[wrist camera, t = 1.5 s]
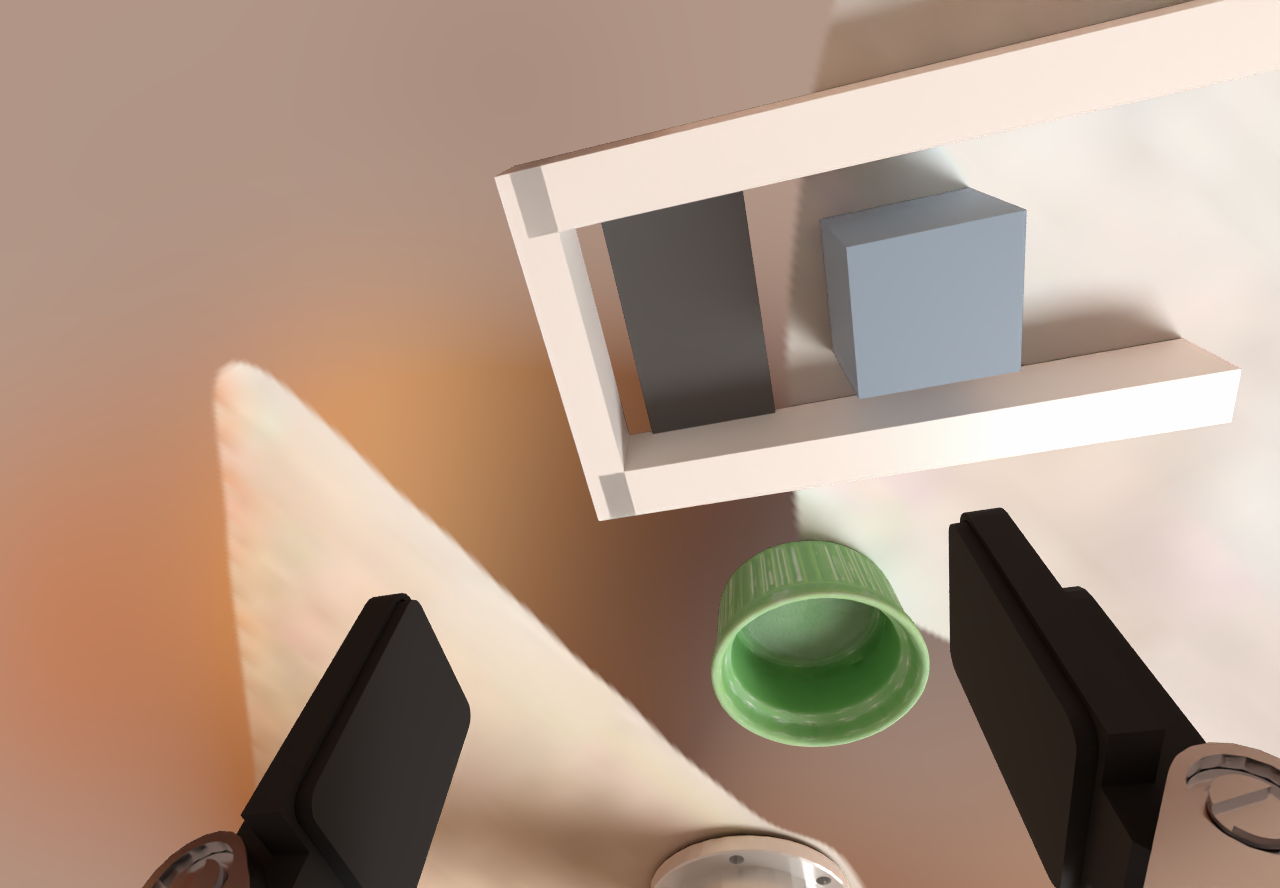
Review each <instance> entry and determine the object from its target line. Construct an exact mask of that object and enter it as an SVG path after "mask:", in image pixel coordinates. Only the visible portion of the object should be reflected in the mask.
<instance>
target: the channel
mask: <svg viewBox="0 0 1280 888" xmlns="http://www.w3.org/2000/svg"><path fill="white" fill-rule="evenodd" d="M1279 69H1280V0H1194V1H1190V2H1185V3H1181V4H1177V5H1173V6H1169V7H1165V8H1161V9H1157V10H1153V11H1148V12H1144V13H1140V14H1136V15H1132V16H1128V17H1124V18H1120V19H1116V20H1112V21H1107V22H1103V23H1099V24H1095V25H1091V26H1087V27H1083V28H1079V29H1075V30H1070V31H1066V32H1062V33H1058V34H1054V35H1050V36H1046V37H1042V38H1038V39H1034V40H1029V41H1025V42H1021V43H1017V44H1013V45H1009V46H1005V47H1001V48H997V49H992V50H988V51H984V52H980V53H976V54H972V55H968V56H964V57H960V58H956V59H951V60H947V61H943V62H939V63H935V64H931V65H927V66H923V67H919V68H914V69H910V70H906V71H902V72H898V73H894V74H890V75H886V76H882V77H877V78H873V79H869V80H865V81H861V82H857V83H853V84H849V85H845V86H841V87H836V88H832V89H828V90H824V91H820V92H816V93H812V94H808V95H804V96H799V97H795V98H791V99H787V100H783V101H779V102H775V103H771V104H767V105H763V106H758V107H754V108H750V109H746V110H742V111H738V112H734V113H730V114H726V115H722V116H717V117H713V118H710V119H705V120H701V121H697V122H693V123H689V124H685V125H680V126H676V127H672V128H668V129H664V130H660V131H656V132H652V133H648V134H643V135H640V136H635V137H631V138H627V139H623V140H619V141H615V142H611V143H606V144H602V145H598V146H594V147H590V148H586V149H582V150H578V151H574V152H570V153H566V154H561V155H558V156H553V157H549V158H546V159H541V160H537V161H533V162H529V163H525V164H521V165H516V166H514V167H512V168H510V169H508V170H506V171H505V172H503V173H501V174H499V175H497V176H495V177H494V179H495V182H496V185H497V189H498V192H499V195H500V198H501V201H502V205H503V208H504V212H505V215H506V218H507V221H508V224H509V228H510V231H511V234H512V238H513V241H514V244H515V248H516V251H517V254H518V257H519V261H520V264H521V267H522V270H523V274H524V277H525V280H526V284H527V287H528V290H529V294H530V297H531V300H532V303H533V307H534V310H535V313H536V317H537V320H538V323H539V326H540V329H541V333H542V336H543V340H544V343H545V346H546V349H547V352H548V356H549V359H550V362H551V366H552V369H553V372H554V376H555V379H556V382H557V385H558V389H559V392H560V395H561V398H562V402H563V405H564V408H565V412H566V415H567V418H568V422H569V425H570V428H571V431H572V435H573V438H574V441H575V444H576V448H577V451H578V454H579V457H580V461H581V464H582V468H583V471H584V474H585V477H586V481H587V484H588V487H589V490H590V494H591V497H592V500H593V504H594V507H595V510H596V513H597V517H598V520H599V521H602V520H608V519H615V518H621V517H627V516H634V515H640V514H647V513H653V512H660V511H666V510H672V509H679V508H684V507H691V506H698V505H704V504H711V503H716V502H724V501H730V500H736V499H743V498H749V497H755V496H762V495H768V494H774V493H780V492H787V491H794V490H800V489H807V488H813V487H819V486H826V485H832V484H839V483H845V482H851V481H858V480H864V479H871V478H877V477H883V476H890V475H896V474H903V473H909V472H915V471H922V470H928V469H935V468H941V467H947V466H954V465H960V464H966V463H973V462H979V461H986V460H992V459H998V458H1005V457H1011V456H1018V455H1024V454H1030V453H1037V452H1043V451H1050V450H1056V449H1062V448H1069V447H1075V446H1082V445H1088V444H1094V443H1101V442H1107V441H1113V440H1120V439H1126V438H1133V437H1139V436H1145V435H1152V434H1158V433H1165V432H1171V431H1177V430H1184V429H1190V428H1197V427H1203V426H1209V425H1216V424H1222V423H1229V422H1231V420H1232V415H1233V410H1234V405H1235V400H1236V394H1237V389H1238V384H1239V379H1240V374H1241V368H1239V367H1237V366H1235V365H1233V364H1231V363H1229V362H1228V361H1226V360H1224V359H1222V358H1220V357H1218V356H1216V355H1214V354H1212V353H1210V352H1209V351H1207V350H1205V349H1203V348H1201V347H1199V346H1197V345H1195V344H1193V343H1191V342H1189V341H1188V340H1186V339H1184V338H1181V339H1175V340H1169V341H1163V342H1158V343H1152V344H1146V345H1141V346H1135V347H1129V348H1123V349H1118V350H1112V351H1106V352H1101V353H1095V354H1089V355H1084V356H1078V357H1072V358H1066V359H1061V360H1055V361H1049V362H1044V363H1038V364H1032V365H1026V366H1021V371H1018V372H1013V373H1007V374H1001V375H996V376H990V377H984V378H978V379H973V380H967V381H961V382H955V383H950V384H944V385H938V386H933V387H927V388H921V389H915V390H910V391H904V392H898V393H892V394H887V395H881V396H875V397H870V398H864V399H858V397H857V395H855V396H849V397H844V398H838V399H832V400H827V401H821V402H815V403H809V404H804V405H798V406H792V407H787V408H781V409H775V407H774V400H773V394H772V387H771V381H770V373H769V366H768V359H767V353H766V346H765V339H764V332H763V326H762V319H761V312H760V305H759V298H758V292H757V285H756V278H755V271H754V264H753V257H752V251H751V244H750V237H749V231H748V224H747V217H746V210H745V203H744V196H743V190H747V189H752V188H756V187H760V186H765V185H769V184H774V183H778V182H783V181H787V180H791V179H796V178H800V177H805V176H809V175H814V174H818V173H823V172H827V171H832V170H836V169H840V168H845V167H849V166H854V165H858V164H863V163H867V162H871V161H876V160H880V159H885V158H889V157H894V156H898V155H902V154H907V153H911V152H916V151H920V150H925V149H929V148H933V147H938V146H942V145H947V144H951V143H956V142H960V141H965V140H969V139H973V138H978V137H982V136H987V135H991V134H996V133H1000V132H1004V131H1009V130H1013V129H1018V128H1022V127H1027V126H1031V125H1035V124H1040V123H1044V122H1049V121H1053V120H1058V119H1062V118H1066V117H1071V116H1075V115H1080V114H1084V113H1089V112H1093V111H1098V110H1102V109H1106V108H1111V107H1115V106H1120V105H1124V104H1129V103H1133V102H1137V101H1142V100H1146V99H1151V98H1155V97H1160V96H1164V95H1168V94H1173V93H1177V92H1182V91H1186V90H1191V89H1195V88H1200V87H1204V86H1208V85H1213V84H1217V83H1222V82H1226V81H1231V80H1235V79H1239V78H1244V77H1248V76H1253V75H1257V74H1262V73H1266V72H1270V71H1275V70H1279ZM596 223H602V228H603V232H604V236H605V240H606V244H607V248H608V252H609V256H610V260H611V265H612V269H613V273H614V277H615V281H616V285H617V289H618V293H619V298H620V301H621V305H622V310H623V314H624V318H625V322H626V326H627V330H628V335H629V339H630V342H631V347H632V351H633V355H634V359H635V363H636V367H637V372H638V375H639V379H640V384H641V388H642V392H643V396H644V400H645V404H646V408H647V412H648V416H649V421H650V424H651V429H652V431H650V432H644V433H638V434H632V435H629V431H628V428H627V424H626V420H625V416H624V412H623V408H622V404H621V400H620V397H619V393H618V389H617V385H616V382H615V378H614V374H613V370H612V366H611V362H610V359H609V354H608V351H607V347H606V343H605V339H604V335H603V331H602V328H601V324H600V320H599V316H598V312H597V308H596V305H595V301H594V297H593V293H592V289H591V286H590V282H589V278H588V274H587V270H586V267H585V263H584V259H583V255H582V251H581V247H580V243H579V240H578V236H577V232H576V228H579V227H583V226H588V225H592V224H596Z"/></svg>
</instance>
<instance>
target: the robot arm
mask: <svg viewBox="0 0 1280 888" xmlns="http://www.w3.org/2000/svg"><path fill="white" fill-rule="evenodd" d="M949 600H950V652H951V658H952V662H953V666H954V669H955V671H956V674H957V676H958V678H959V680H960V683H961V685H962V687H963V689H964V691H965V694H966V696H967V698H968V700H969V703H970V705H971V707H972V709H973V711H974V714H975V716H976V718H977V720H978V722H979V724H980V727H981V729H982V731H983V733H984V736H985V738H986V740H987V742H988V744H989V747H990V749H991V751H992V753H993V755H994V758H995V760H996V762H997V764H998V767H999V769H1000V771H1001V773H1002V775H1003V777H1004V780H1005V782H1006V784H1007V786H1008V789H1009V790H1010V793H1011V795H1012V797H1013V800H1014V802H1015V804H1016V806H1017V808H1018V810H1019V813H1020V815H1021V817H1022V819H1023V822H1024V824H1025V826H1026V828H1027V830H1028V833H1029V835H1030V837H1031V839H1032V841H1033V844H1034V846H1035V848H1036V850H1037V852H1038V855H1039V857H1040V859H1041V861H1042V864H1043V866H1044V868H1045V870H1046V872H1047V874H1048V876H1049V878H1050V880H1051V882H1052V883H1053V885H1054V886H1055V887H1056V888H1280V758H1277V757H1275V756H1273V755H1270V754H1268V753H1266V752H1263V751H1261V750H1258V749H1254V748H1250V747H1246V746H1242V745H1238V744H1234V743H1213V742H1209V743H1206V742H1205V741H1204V739H1203V738H1202V737H1201V735H1200V734H1199V733H1198V732H1197V730H1196V729H1195V728H1194V726H1193V725H1192V724H1191V723H1190V721H1189V720H1188V719H1187V717H1186V716H1185V715H1184V714H1183V712H1182V711H1181V710H1180V708H1179V707H1178V706H1177V705H1176V703H1175V702H1174V701H1173V699H1172V698H1171V697H1170V696H1169V694H1168V693H1167V692H1166V690H1165V689H1164V688H1163V687H1162V685H1161V684H1160V683H1159V682H1158V680H1157V679H1156V678H1155V676H1154V675H1153V674H1152V673H1151V671H1150V670H1149V669H1148V667H1147V666H1146V665H1145V664H1144V662H1143V661H1142V660H1141V658H1140V657H1139V656H1138V655H1137V653H1136V652H1135V651H1134V649H1133V648H1132V647H1131V646H1130V644H1129V643H1128V642H1127V640H1126V639H1125V638H1124V637H1123V635H1122V634H1121V633H1120V631H1119V630H1118V629H1117V628H1116V626H1115V625H1114V624H1113V622H1112V621H1111V620H1110V619H1109V617H1108V616H1107V615H1106V613H1105V612H1104V611H1103V610H1102V608H1101V607H1100V606H1099V604H1098V603H1097V602H1096V601H1095V599H1094V598H1093V597H1092V596H1091V595H1090V594H1089V593H1088V592H1087V591H1086V590H1085V589H1083V588H1081V587H1079V586H1076V587H1068V588H1062V587H1061V585H1060V584H1059V583H1058V581H1057V580H1056V579H1055V577H1054V576H1053V575H1052V573H1051V572H1050V570H1049V569H1048V568H1047V566H1046V565H1045V564H1044V562H1043V561H1042V560H1041V558H1040V557H1039V555H1038V554H1037V553H1036V551H1035V550H1034V549H1033V547H1032V546H1031V545H1030V543H1029V542H1028V540H1027V539H1026V538H1025V536H1024V535H1023V534H1022V532H1021V531H1020V530H1019V528H1018V527H1017V525H1016V524H1015V523H1014V521H1013V520H1012V519H1011V517H1010V516H1009V515H1008V513H1007V512H1006V511H1005V510H1004V509H1003V508H994V509H987V510H980V511H973V512H966V513H963V514H962V515H961V518H960V523H955V524H951V525H950V527H949ZM469 724H470V707H469V704H468V701H467V699H466V697H465V695H464V693H463V691H462V689H461V687H460V685H459V683H458V681H457V679H456V677H455V674H454V672H453V670H452V668H451V666H450V664H449V662H448V660H447V658H446V656H445V654H444V652H443V650H442V648H441V646H440V644H439V641H438V639H437V637H436V635H435V633H434V631H433V629H432V627H431V625H430V623H429V621H428V619H427V617H426V615H425V613H424V611H423V608H422V606H421V605H420V603H419V602H418V601H417V600H411V599H410V597H409V596H408V595H407V594H404V593H399V594H392V595H385V596H378V597H373V598H371V599H369V601H368V602H367V603H366V604H365V606H364V608H363V610H362V611H361V613H360V615H359V616H358V618H357V620H356V621H355V623H354V625H353V626H352V628H351V630H350V631H349V633H348V635H347V637H346V638H345V640H344V642H343V643H342V645H341V647H340V648H339V650H338V652H337V653H336V655H335V657H334V658H333V660H332V662H331V664H330V665H329V667H328V669H327V670H326V672H325V674H324V675H323V677H322V679H321V680H320V682H319V684H318V685H317V687H316V689H315V691H314V692H313V694H312V696H311V697H310V699H309V701H308V702H307V704H306V706H305V707H304V709H303V711H302V712H301V714H300V716H299V718H298V719H297V721H296V723H295V724H294V726H293V728H292V729H291V731H290V733H289V734H288V736H287V738H286V739H285V741H284V743H283V745H282V746H281V748H280V750H279V751H278V753H277V755H276V756H275V758H274V760H273V761H272V763H271V765H270V766H269V768H268V770H267V772H266V773H265V775H264V777H263V778H262V780H261V782H260V783H259V785H258V787H257V788H256V790H255V792H254V793H253V795H252V797H251V799H250V800H249V802H248V804H247V805H246V807H245V809H244V810H243V812H242V814H241V816H242V818H243V819H244V820H245V821H244V822H243V824H242V826H241V828H240V829H239V831H238V833H237V834H235V833H233V832H226V831H218V832H214V833H210V834H206V835H204V836H202V837H200V838H198V839H196V840H194V841H192V842H190V843H188V844H186V845H185V846H184V847H182V848H181V849H180V850H178V851H177V852H175V853H174V854H172V855H171V856H170V857H169V858H168V859H167V860H166V861H165V862H164V863H163V864H162V865H161V866H160V867H159V868H158V869H157V870H156V871H155V872H154V873H153V874H152V876H151V877H150V878H149V879H148V881H147V882H146V883H145V885H144V886H143V887H142V888H417V885H418V882H419V879H420V876H421V873H422V870H423V867H424V864H425V861H426V857H427V854H428V851H429V848H430V845H431V842H432V839H433V836H434V833H435V830H436V827H437V824H438V821H439V817H440V814H441V811H442V808H443V805H444V802H445V799H446V796H447V793H448V790H449V787H450V784H451V781H452V777H453V774H454V771H455V768H456V765H457V762H458V759H459V756H460V753H461V750H462V747H463V744H464V740H465V737H466V734H467V731H468V728H469ZM650 888H850V886H849V883H848V881H847V879H846V877H845V875H844V873H843V872H842V871H841V869H840V868H839V867H838V866H837V865H836V864H835V863H834V862H833V861H831V860H830V859H828V858H827V857H826V856H824V855H823V854H821V853H820V852H818V851H816V850H814V849H811V848H809V847H807V846H805V845H802V844H799V843H796V842H793V841H790V840H785V839H780V838H774V837H769V836H754V835H742V836H727V837H721V838H715V839H709V840H706V841H703V842H700V843H697V844H693V845H691V846H689V847H687V848H685V849H683V850H681V851H679V852H677V853H676V854H674V855H673V856H671V857H670V858H669V859H667V860H666V861H665V862H664V863H663V864H662V865H661V866H660V867H659V868H658V870H657V871H656V873H655V875H654V877H653V879H652V881H651V887H650Z"/></svg>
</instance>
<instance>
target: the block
mask: <svg viewBox="0 0 1280 888" xmlns="http://www.w3.org/2000/svg"><path fill="white" fill-rule="evenodd" d="M1026 212H1027V210H1026V209H1023V208H1020V207H1018V206H1015V205H1013V204H1010V203H1008V202H1005V201H1003V200H1000V199H998V198H995V197H992V196H990V195H987V194H985V193H982V192H980V191H977V190H975V189H972V188H970V187H968V188H964V189H959V190H955V191H950V192H945V193H941V194H936V195H931V196H927V197H922V198H917V199H913V200H908V201H903V202H899V203H894V204H890V205H885V206H880V207H876V208H871V209H866V210H862V211H857V212H852V213H848V214H843V215H839V216H834V217H829V218H825V219H820V227H821V237H822V247H823V257H824V267H825V277H826V287H827V297H828V307H829V317H830V327H831V337H832V347H833V353H834V354H835V356H836V358H837V360H838V362H839V364H840V365H841V367H842V369H843V371H844V373H845V375H846V376H847V378H848V380H849V382H850V384H851V386H852V387H853V389H854V391H855V393H856V395H857V397H858V399H864V398H870V397H875V396H881V395H887V394H892V393H898V392H904V391H910V390H915V389H921V388H927V387H933V386H938V385H944V384H950V383H955V382H961V381H967V380H973V379H978V378H984V377H990V376H996V375H1001V374H1007V373H1013V372H1018V371H1021V349H1022V322H1023V294H1024V267H1025V240H1026Z"/></svg>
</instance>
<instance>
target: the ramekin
mask: <svg viewBox="0 0 1280 888" xmlns="http://www.w3.org/2000/svg"><path fill="white" fill-rule="evenodd" d="M929 666H930V665H929V655H928V650H927V646H926V644H925V641H924V639H923V637H922V635H921V633H920V631H919V630H918V628H917V627H916V625H915V624H914V622H913V621H912V620H911V618H910V617H909V616H908V615H907V614H906V613H905V612H904V610H903V608H902V606H901V604H900V602H899V600H898V598H897V596H896V594H895V592H894V590H893V588H892V587H891V585H890V583H889V581H888V580H887V578H886V577H885V575H884V574H883V572H882V571H881V570H880V569H879V568H878V567H877V566H876V565H875V564H874V563H873V562H872V561H871V560H869V559H868V558H867V557H866V556H864V555H862V554H860V553H859V552H857V551H855V550H853V549H850V548H848V547H845V546H842V545H840V544H835V543H832V542H824V541H796V542H789V543H785V544H781V545H777V546H774V547H771V548H768V549H766V550H764V551H762V552H760V553H758V554H757V555H755V556H754V557H752V558H750V559H749V560H748V561H746V562H745V563H744V564H743V565H741V566H740V567H739V568H738V570H736V571H735V573H733V575H732V576H731V578H730V579H729V580H728V582H727V584H726V586H725V588H724V590H723V593H722V596H721V600H720V604H719V614H718V628H717V642H716V645H715V648H714V652H713V655H712V662H711V680H712V686H713V689H714V692H715V694H716V697H717V699H718V700H719V702H720V704H721V705H722V707H723V708H724V709H725V711H726V712H727V713H728V714H729V715H730V716H731V718H733V719H734V720H735V721H736V722H737V723H739V724H740V725H741V726H743V727H744V728H746V729H748V730H749V731H751V732H753V733H755V734H757V735H759V736H762V737H764V738H767V739H769V740H772V741H776V742H780V743H784V744H788V745H795V746H807V747H821V746H834V745H841V744H845V743H850V742H854V741H857V740H860V739H863V738H866V737H869V736H871V735H874V734H875V733H877V732H880V731H882V730H884V729H886V728H887V727H889V726H890V725H892V724H893V723H894V722H896V721H897V720H899V719H900V718H901V717H902V716H904V715H905V714H906V713H907V712H908V711H909V710H910V709H911V708H912V707H913V706H914V704H915V703H916V702H917V700H918V699H919V697H920V696H921V694H922V693H923V691H924V688H925V685H926V683H927V679H928V675H929Z"/></svg>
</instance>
